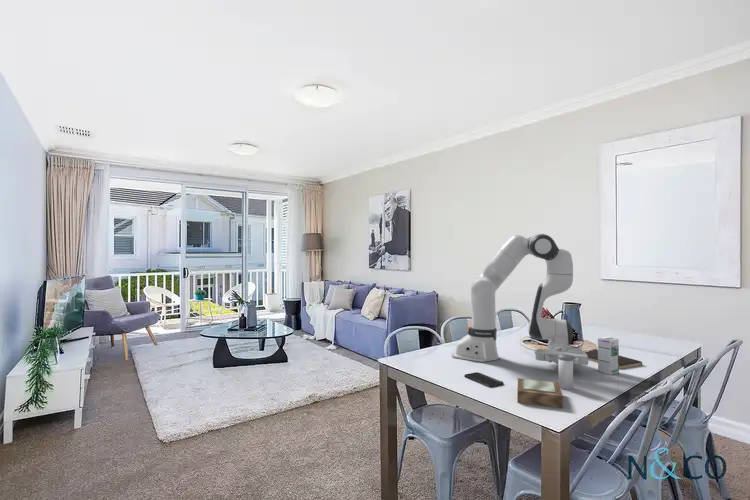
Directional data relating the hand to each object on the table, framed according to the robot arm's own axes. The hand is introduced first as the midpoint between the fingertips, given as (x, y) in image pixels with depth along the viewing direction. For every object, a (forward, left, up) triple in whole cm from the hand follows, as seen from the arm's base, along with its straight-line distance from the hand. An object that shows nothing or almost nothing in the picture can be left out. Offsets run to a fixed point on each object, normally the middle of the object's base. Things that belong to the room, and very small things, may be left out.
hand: (562, 361), depth 160 cm
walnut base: (-10, -27, -7) cm, 30 cm away
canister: (0, -12, -7) cm, 14 cm away
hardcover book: (+22, +35, -7) cm, 42 cm away
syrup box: (+19, +15, -7) cm, 25 cm away
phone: (-30, -15, -7) cm, 34 cm away
